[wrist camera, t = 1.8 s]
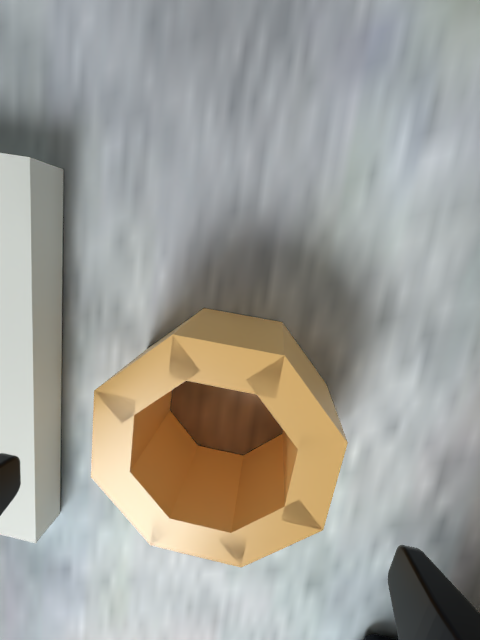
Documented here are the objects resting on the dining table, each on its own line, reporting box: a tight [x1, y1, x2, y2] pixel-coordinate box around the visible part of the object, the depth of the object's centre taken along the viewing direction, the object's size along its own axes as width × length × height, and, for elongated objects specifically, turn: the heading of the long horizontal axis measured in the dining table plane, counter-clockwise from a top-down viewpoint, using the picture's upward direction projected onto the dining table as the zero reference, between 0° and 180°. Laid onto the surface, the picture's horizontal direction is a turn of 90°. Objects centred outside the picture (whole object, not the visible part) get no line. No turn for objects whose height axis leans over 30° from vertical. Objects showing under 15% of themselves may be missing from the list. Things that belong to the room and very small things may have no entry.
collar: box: [91, 308, 347, 567], centre depth 10 cm, size 7×7×4 cm
